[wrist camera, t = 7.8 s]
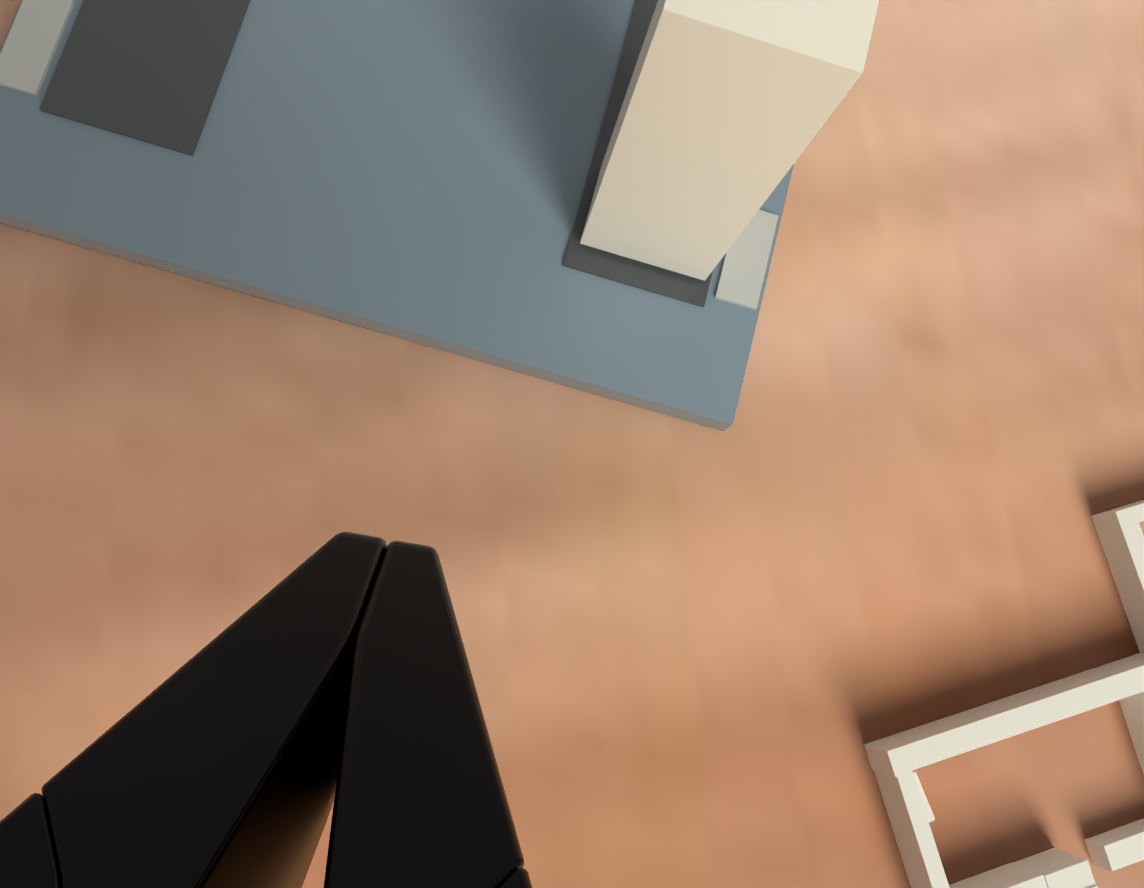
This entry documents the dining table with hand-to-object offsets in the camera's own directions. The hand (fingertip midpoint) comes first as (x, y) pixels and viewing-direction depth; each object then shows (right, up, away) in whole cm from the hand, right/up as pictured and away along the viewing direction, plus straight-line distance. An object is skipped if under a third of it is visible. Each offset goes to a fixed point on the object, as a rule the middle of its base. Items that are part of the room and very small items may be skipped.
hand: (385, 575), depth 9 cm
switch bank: (-2, +10, +16) cm, 18 cm away
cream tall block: (+4, +6, +15) cm, 16 cm away
